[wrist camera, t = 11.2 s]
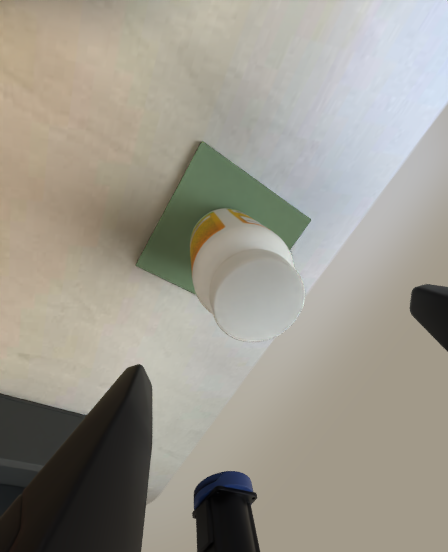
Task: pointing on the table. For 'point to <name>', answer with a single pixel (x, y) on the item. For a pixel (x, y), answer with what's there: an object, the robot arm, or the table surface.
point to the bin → (28, 442)
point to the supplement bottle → (244, 276)
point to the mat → (208, 197)
